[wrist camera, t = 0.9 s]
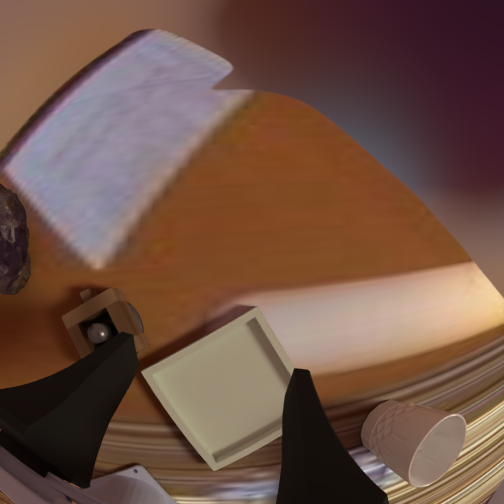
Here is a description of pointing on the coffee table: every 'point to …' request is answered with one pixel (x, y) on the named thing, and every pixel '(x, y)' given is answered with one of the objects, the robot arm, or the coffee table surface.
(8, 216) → the rock
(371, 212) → the coffee table surface
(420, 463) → the white cup
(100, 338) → the grey knobbed lid
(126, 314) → the brown square frame
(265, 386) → the tray
